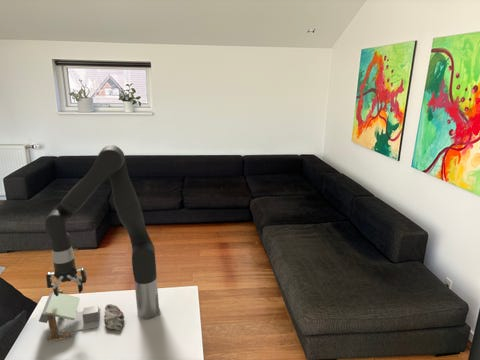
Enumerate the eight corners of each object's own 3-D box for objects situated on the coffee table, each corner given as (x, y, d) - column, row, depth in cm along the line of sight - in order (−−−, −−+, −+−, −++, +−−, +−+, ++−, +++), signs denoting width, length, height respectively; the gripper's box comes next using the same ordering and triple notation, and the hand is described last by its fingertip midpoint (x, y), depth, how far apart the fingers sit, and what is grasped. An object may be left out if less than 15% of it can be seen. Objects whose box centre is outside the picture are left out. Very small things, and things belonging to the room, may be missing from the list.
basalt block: (83, 323, 145) (99, 321, 146) (82, 314, 143) (97, 312, 145) (85, 316, 149) (100, 314, 150) (83, 307, 148) (98, 305, 149)
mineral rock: (124, 331, 141) (123, 322, 140) (103, 335, 139) (102, 325, 138) (125, 309, 155) (124, 300, 154) (106, 312, 153) (105, 303, 152)
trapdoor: (76, 306, 151) (80, 297, 151) (70, 327, 138) (74, 318, 138) (47, 300, 147) (51, 290, 146) (38, 321, 134) (42, 311, 133)
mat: (100, 309, 154) (100, 308, 154) (97, 327, 143) (97, 326, 143) (68, 314, 151) (68, 313, 151) (63, 333, 140) (63, 332, 140)
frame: (77, 309, 154) (73, 287, 151) (69, 337, 137) (65, 313, 134) (57, 312, 152) (53, 290, 149) (47, 341, 135) (43, 316, 132)
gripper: (41, 265, 132) (47, 301, 136) (81, 260, 135) (86, 295, 140) (45, 255, 139) (52, 290, 143) (84, 251, 142) (89, 285, 147)
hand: (69, 293), depth 142 cm, fingers open, 8 cm apart
